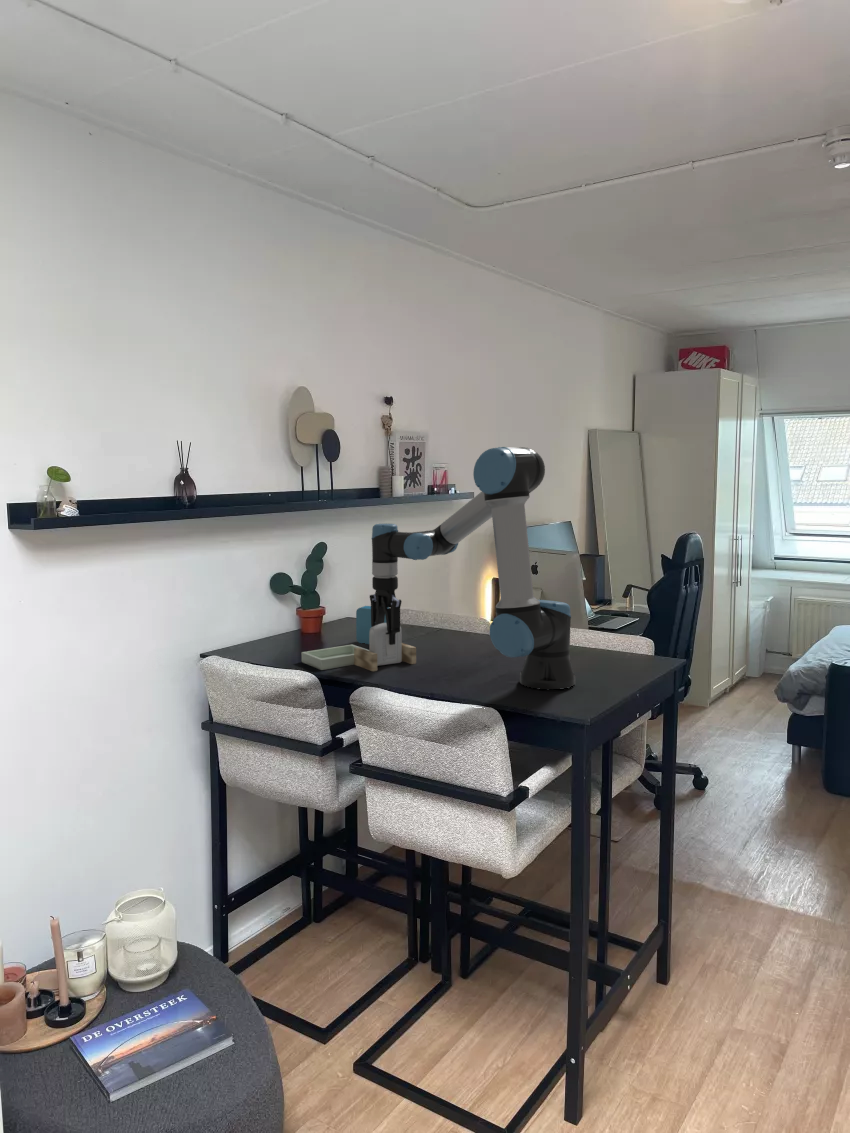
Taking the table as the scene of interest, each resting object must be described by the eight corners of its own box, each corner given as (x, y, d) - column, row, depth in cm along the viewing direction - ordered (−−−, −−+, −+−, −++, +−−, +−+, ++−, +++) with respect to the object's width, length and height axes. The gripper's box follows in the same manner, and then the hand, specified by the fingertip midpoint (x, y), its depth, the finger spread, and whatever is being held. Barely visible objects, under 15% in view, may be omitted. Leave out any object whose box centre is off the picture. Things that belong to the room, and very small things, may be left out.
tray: (373, 661, 258) (373, 651, 258) (321, 670, 247) (321, 660, 247) (352, 653, 267) (352, 644, 267) (301, 662, 257) (301, 652, 256)
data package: (394, 643, 282) (394, 608, 280) (388, 646, 278) (388, 610, 276) (362, 640, 287) (362, 605, 285) (356, 643, 282) (355, 607, 281)
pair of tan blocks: (416, 663, 255) (416, 647, 255) (372, 671, 246) (372, 654, 245) (397, 657, 263) (397, 641, 262) (354, 664, 254) (354, 648, 253)
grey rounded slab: (396, 660, 259) (396, 620, 257) (404, 662, 255) (403, 622, 254) (367, 664, 253) (366, 623, 252) (374, 667, 250) (373, 626, 248)
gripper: (412, 578, 246) (412, 657, 249) (379, 571, 260) (379, 646, 263) (391, 580, 242) (391, 660, 245) (358, 573, 256) (359, 649, 259)
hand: (385, 653), depth 254 cm, fingers closed on grey rounded slab, 4 cm apart
